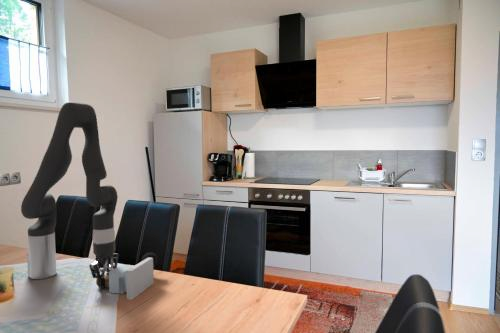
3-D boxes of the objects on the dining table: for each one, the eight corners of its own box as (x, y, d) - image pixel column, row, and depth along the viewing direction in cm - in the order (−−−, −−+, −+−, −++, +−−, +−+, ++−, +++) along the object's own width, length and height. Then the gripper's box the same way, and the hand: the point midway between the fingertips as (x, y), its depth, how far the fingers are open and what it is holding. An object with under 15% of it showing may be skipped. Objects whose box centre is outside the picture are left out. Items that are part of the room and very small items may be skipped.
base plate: (126, 299, 115) (126, 270, 114) (148, 282, 128) (148, 257, 128) (132, 299, 114) (131, 271, 114) (153, 283, 128) (152, 257, 127)
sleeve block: (109, 292, 120) (108, 271, 120) (122, 283, 128) (122, 264, 127) (122, 293, 119) (122, 273, 118) (135, 284, 126) (135, 265, 126)
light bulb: (155, 280, 131) (154, 255, 130) (140, 280, 131) (139, 255, 130) (159, 274, 137) (158, 250, 136) (145, 274, 137) (144, 250, 136)
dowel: (96, 287, 124) (96, 276, 123) (103, 283, 128) (103, 272, 127) (122, 290, 121) (122, 279, 121) (129, 285, 125) (128, 275, 125)
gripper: (108, 234, 132) (109, 277, 133) (81, 244, 118) (83, 292, 119) (124, 235, 130) (126, 278, 131) (99, 246, 116) (101, 294, 117)
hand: (105, 284), depth 125 cm, fingers closed on dowel, 4 cm apart
